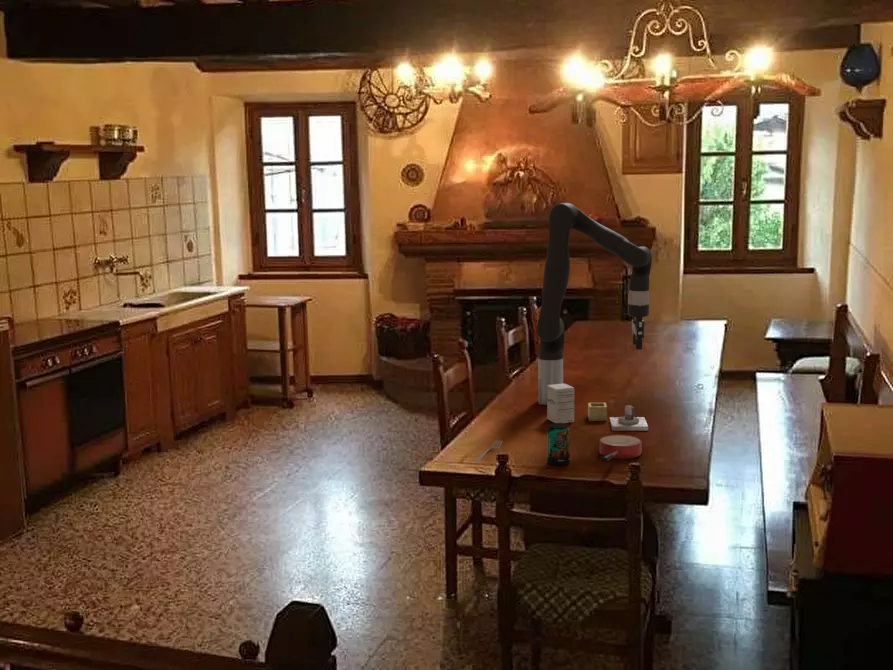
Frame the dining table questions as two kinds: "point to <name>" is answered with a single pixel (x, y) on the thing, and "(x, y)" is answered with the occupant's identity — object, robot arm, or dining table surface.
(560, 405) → the supplement box
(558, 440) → the beverage can
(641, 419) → the shaft stand
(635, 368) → the dining table surface
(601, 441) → the frying pan
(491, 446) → the fork
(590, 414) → the box
